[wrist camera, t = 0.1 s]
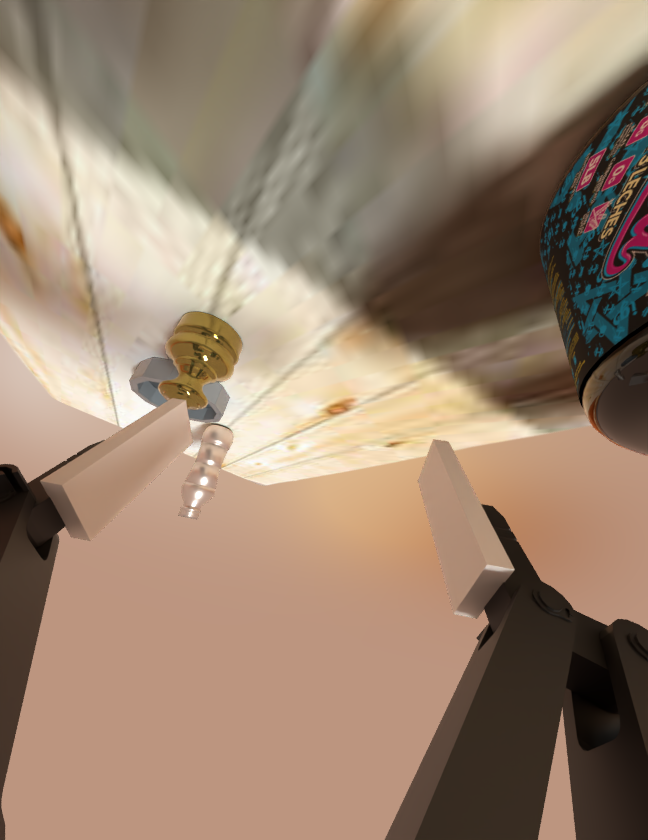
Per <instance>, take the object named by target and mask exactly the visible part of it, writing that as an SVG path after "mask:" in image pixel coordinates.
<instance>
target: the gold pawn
mask: <svg viewBox="0 0 648 840" xmlns="http://www.w3.org/2000/svg"><path fill="white" fill-rule="evenodd" d="M165 351H166V354H167V356H168V358H169V359H170V361H171V362H172V363H173V365H174V367H175V369H176V370H177V372H178V377H177V378H175V379H172V380H165V381H162V382H160V383H159V385H158V390H159V392H160V394H161V395H162V396H163V397H164V398H165V399H166V400H167V401H168V400H170V399H172V398H175V399H182V400H186V404H187V409H190V410H196V409H204V408H205V407H206V406H207V405H208V400H207V398H206V396H205V395H204V393H203V390H202V388H203V386H204V385H207V384H213V383H219V382H224V381H226V380H228V379H230V378H231V376H232V375H233V371H234V365H236V364H237V362H238V359H239V356H240V353H241V351H242V341H241V339H240V337H239V335H238V334H237V333H236V331H235V330H234V329H233V328H232V327H231V326H229V325H228V324H227V323H226V322H224V321H222V320H221V319H219V318H217V317H215V316H213V315H210V314H207V313H202V312H190V313H187V314H185V315H183V316H182V318H181V320H180V321H179V323H178V325H177V326H176V327H175V328H174V331H173V336H171V337H170V338H169V340H168V341H167V342H166V345H165Z"/></svg>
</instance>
